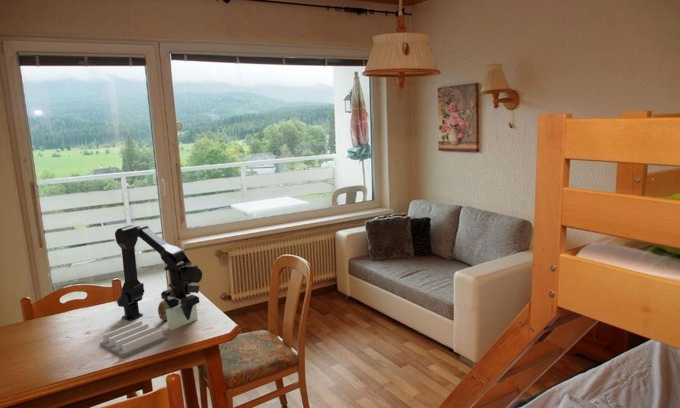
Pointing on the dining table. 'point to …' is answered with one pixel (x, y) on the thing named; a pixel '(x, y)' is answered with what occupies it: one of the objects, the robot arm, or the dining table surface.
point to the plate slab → (179, 317)
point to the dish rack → (132, 339)
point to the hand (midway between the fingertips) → (182, 317)
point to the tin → (164, 309)
